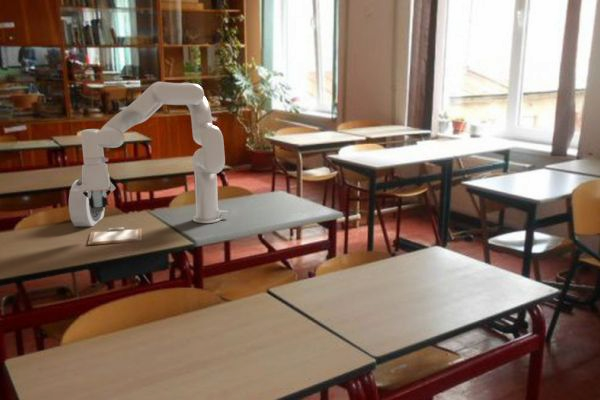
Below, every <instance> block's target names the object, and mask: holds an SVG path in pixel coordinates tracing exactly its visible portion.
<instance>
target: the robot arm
mask: <svg viewBox="0 0 600 400" xmlns="http://www.w3.org/2000/svg"><path fill="white" fill-rule="evenodd" d="M204 91H205V90H204V89H203V87H202V86H200V84H198V83H193V82H192V83H191V82H168V81H167V82H164V81H156V82H153V83H152V84H151V85H150V86H148V88H146V89H145V90H144V92H142V93H141V94H140V95H139V96H138V97H137V98H136V99H135V100H134V101H132V102H131V103H130V104H129V105H128V106H126V107H125V108H124V109H122V110H120V111H119V112H118V113H116V114H115V115H114V116H113V117H111V118H110V119H109V120H108V121H107V122H106V123H105V124H104V125H103V126H102V127H101V129H97V128H88V129H83V130H81V132H80V137H81V148H82V156H83V157H82V158H83V164H82V166H81V167H82V168H81V178H82V184H81V186H80V188H79V190H78V192H80V193H82V194H84V195H85V196H86V197H87V198H88V199H89V206H91V209H92V208H93V199H92V196H91V194H92V191H94V190H102V192H103V207H104V208H106V207H107V205H108V196H110V194H111V193H112V192H114V191H115V190H116V186H115V185H114V184H113V183H112V182H111V178H110V173H109V172H110V171H109V168H108V164H107V163H106V162H109V158H108V157H105V154H104V153H105V151H104V148H108V149H109V148H111V149H114V148H119V147H121V146H122V145H123V144H124V142H125V134H124V133H125V132H127V131H128V130H129V129H130V128H132V127H134V126H136V125H139V124H142V123H144V122H146V121H147V120H148V119H149V118H151V117H152V115H154V114H155V113H156V111H158V110H159V109H160V108H161V107H162V106H163V105H172V106H173V105H174V106H187V108H188V110H189V113H190V118H191V129H192V130H191V131H192V138H193V141H194V142H195V143H196V144H197V145H200V146H201V148H198V149H197V150H195V152H194V153H193V156H192V167H193V171H194V187H195V188H194V189H195V191H194V192H195V215H194V216H193V217H192V221H193V222H194V223H199V224H213V223H218V222H221V220H222V219H223V216H229V215H230V212H229V210H226V209H222V210H221V209H220V208H219V198H218V194H219V193H218V175H217V174H219V173H220V172H222V171H223V169H224V166H225V163H226V156H225V155H226V154H225V145H224V143H225V142H224V136H223V133H222V131H221V129H220V128H219V126H216V125H214V124H213V118H212V117H213V116H212V110H211V107H210V103H209V101H208V100H207V97H206V96H205V92H204ZM84 190H85V191H84ZM86 191H88V192H86Z"/></svg>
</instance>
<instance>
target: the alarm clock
mask: <svg viewBox="0 0 600 400" xmlns="http://www.w3.org/2000/svg"><path fill="white" fill-rule="evenodd" d="M81 184H82V177H80V178H79V179H76V180H75V181H74V182H73V183H72V184H71V187H70V189H69V194H68V196H69V197H68V210H69V217H70V220H71V223H72V224H73V226H74V227H77V228H78V227H79V228H81V227H84V228H85V227H94V226H95V225H96V224H98V223H99V222H100V221H101V220H102V219H103V218H104V216H105V208H106V207H105V208H104V211H102V212H94V207H93V208H92V209H91V206H89V199H88V198H87V197H86V196H85V195H84V194H82V193H80V192H78V190H79V188H80V186H81ZM84 191H85V190H84ZM86 192H88V191H86ZM91 196H92V194H91Z"/></svg>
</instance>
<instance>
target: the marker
mask: <svg viewBox="0 0 600 400" xmlns="http://www.w3.org/2000/svg"><path fill="white" fill-rule="evenodd" d="M92 199H93V207H94V212H102V211H104V212H105V210H104V207H103V192H102V190H94V191H92Z"/></svg>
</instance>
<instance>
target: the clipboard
mask: <svg viewBox="0 0 600 400" xmlns="http://www.w3.org/2000/svg"><path fill="white" fill-rule="evenodd" d="M142 230H143V229H142V228H139V227H138V228H126V229H125V226H122V227H120V226H119V227H108V230H94V231H90V234H89V238H88V242H87V245H88V246H91V245H92V246H93V245H107V244H109V245H110V244H118V243H119V244H120V243H133V242H134V243H135V242H142V241H143V237H142V235H143V231H142Z"/></svg>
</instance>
